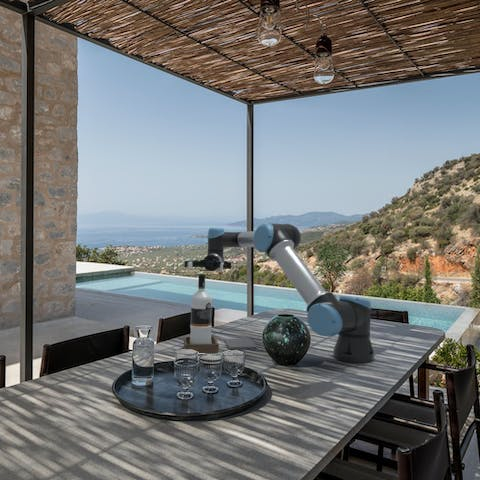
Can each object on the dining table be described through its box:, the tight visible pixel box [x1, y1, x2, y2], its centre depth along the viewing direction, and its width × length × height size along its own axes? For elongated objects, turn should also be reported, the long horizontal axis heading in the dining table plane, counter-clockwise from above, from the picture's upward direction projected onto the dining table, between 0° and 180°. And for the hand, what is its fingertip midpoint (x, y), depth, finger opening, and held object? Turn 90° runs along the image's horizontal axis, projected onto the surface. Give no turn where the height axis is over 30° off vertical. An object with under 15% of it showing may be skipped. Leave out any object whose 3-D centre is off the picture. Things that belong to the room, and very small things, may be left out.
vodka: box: [189, 273, 213, 344], centre depth 181 cm, size 9×9×30 cm
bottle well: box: [182, 335, 220, 353], centre depth 181 cm, size 13×13×4 cm
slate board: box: [224, 337, 258, 351], centre depth 191 cm, size 14×11×1 cm
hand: (204, 266), depth 191 cm, fingers open, 13 cm apart
